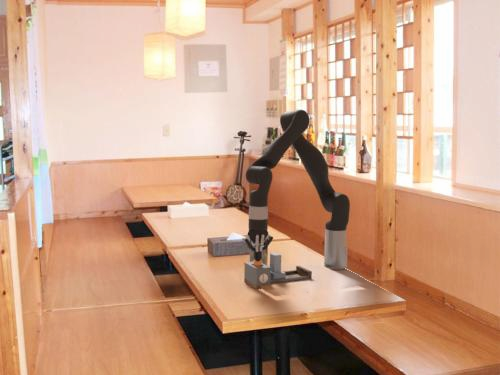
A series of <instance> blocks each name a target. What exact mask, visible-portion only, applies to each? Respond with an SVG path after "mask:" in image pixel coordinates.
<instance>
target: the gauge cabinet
mask: <svg viewBox="0 0 500 375" xmlns="http://www.w3.org/2000/svg"><path fill="white" fill-rule="evenodd" d="M270 271H271V267H270V265H268V264H267V265H265V264H263V263H262V264H261V266H256V267H255V266H253V262H250V261H249V262H248V261H246V262H244V272H243V273H244V278H245V279H246V280H248V281H250V282H251V283H253V284H255V285H258V286H265V285H271V284H270ZM264 284H265V285H264Z"/></svg>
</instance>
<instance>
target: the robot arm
mask: <svg viewBox="0 0 500 375" xmlns="http://www.w3.org/2000/svg"><path fill="white" fill-rule="evenodd" d="M310 122H311V121H310V115H309V114H308V112H307V111H306V110H304V109H294V110H289V111H285V112H283V113H282V114H281V115H280V118H279V123H280V128H281V129H282V131H283V133H281V134H280V135H279V136H278V137H276V139H274V140H273V141H272V142H271V143H270V144H269V145H268V146H267V147H266V148H265V150H264V152H263V153H262V155H260V157H258V158H257V159H256V160H255V161H253V162H252V163H251V164H250V165H249V166H248V168H247V169H246V171H245V179H246V182H248V183H250V184H252V185H258V187H257V189H255V190H251V191H250V193H249V207H248V232H247V235H246V236H245V237H242V241H243V242H244V245H246V247H247V248H248V250H249V251H250V250H252V251H254V259H255V260H256V261H260V259H261V258H262V250H264V249H266V248H267V247H269V245H270V244H271V243H272V241H273V240H274V237H273V236H271V235H270V234H269V231H268V228H269V224H268V223H269V209H268V206H269V205H268V203H269V202H268V198H269V197H268V195H269V192H270V188H271V186H272V181H273V178H274V177H273V172H272V170H273V169H274V168H276V166H278V164H279V162H280V161H281V159H282V158H283V156H284V155H285V153H286V152H287V151H288V150H289V149H290V147H291V146H293V148H294V149H295V152H296V153H297V155H298V157H299V159H300V161H301V163H302V165H303V167H304V169H305V171H306V173H307V175H308V176H309V178H310V180H311V182H312V184H313V186H314V188H315V190H316V193H317V194H318V197H319V200H320V202H321V205H322V207H323V209H324V210H325V211H326V212H328V213H330V214H331V217H330V220H328V221H326V222H325V224H324V226H325V228H324V231H325V232H324V257H323V258H324V260H323V267H325V268H327V269H329V270H337V271H339V270H344V269H347V268H348V253H349V252H348V249H349V248H348V246H347V226H348V224H349V222H350V221H349V220H350V210H351V208H350V207H351V204H350V203H351V202H350V199H349V198H350V197H348V195H346V194H344V193H339V192H336V190H334V188H333V186H332V184H331V182H330V180H329V179H330V178H329V164H328V163H327V161H326V159H325V156H324V155H323V153H322V152H321V150H319V148H317V147H316V146H315V145H314V144H313V143H312V142H310V141H309V140H308V139H306V137H305V136H304V135H303V134H304V132H305V131H307V129H308V128H309V126H310ZM250 239H251V241H252V245H253V246H252V245H251V243H250ZM265 239H266V240H265ZM264 240H265V241H264Z"/></svg>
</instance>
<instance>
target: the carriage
mask: <svg viewBox="0 0 500 375" xmlns="http://www.w3.org/2000/svg"><path fill="white" fill-rule="evenodd" d="M269 267H271V271H270V280H274V279H282V278H285V277H286V273H285V272H283V271H284V270H282V254H281V253H278V252H271V253H269Z"/></svg>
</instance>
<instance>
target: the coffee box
mask: <svg viewBox="0 0 500 375" xmlns="http://www.w3.org/2000/svg"><path fill="white" fill-rule="evenodd" d="M249 239H250V238H249ZM265 240H266V239H265ZM265 240H264V241H265ZM249 242H250V243H251V245H252V241H251V239H250V241H249ZM252 246H253V245H252ZM268 247H269V246H268ZM268 247H267V248H266V249H264V250H262V258H261V259H260V260H261V261H262V263H263V264H265V265H267V266H268V258H269V257H268V252H269V250H268V249H269V248H268ZM254 260H255V259H254V251H252V250H250V249H249V262H253V261H254Z"/></svg>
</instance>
